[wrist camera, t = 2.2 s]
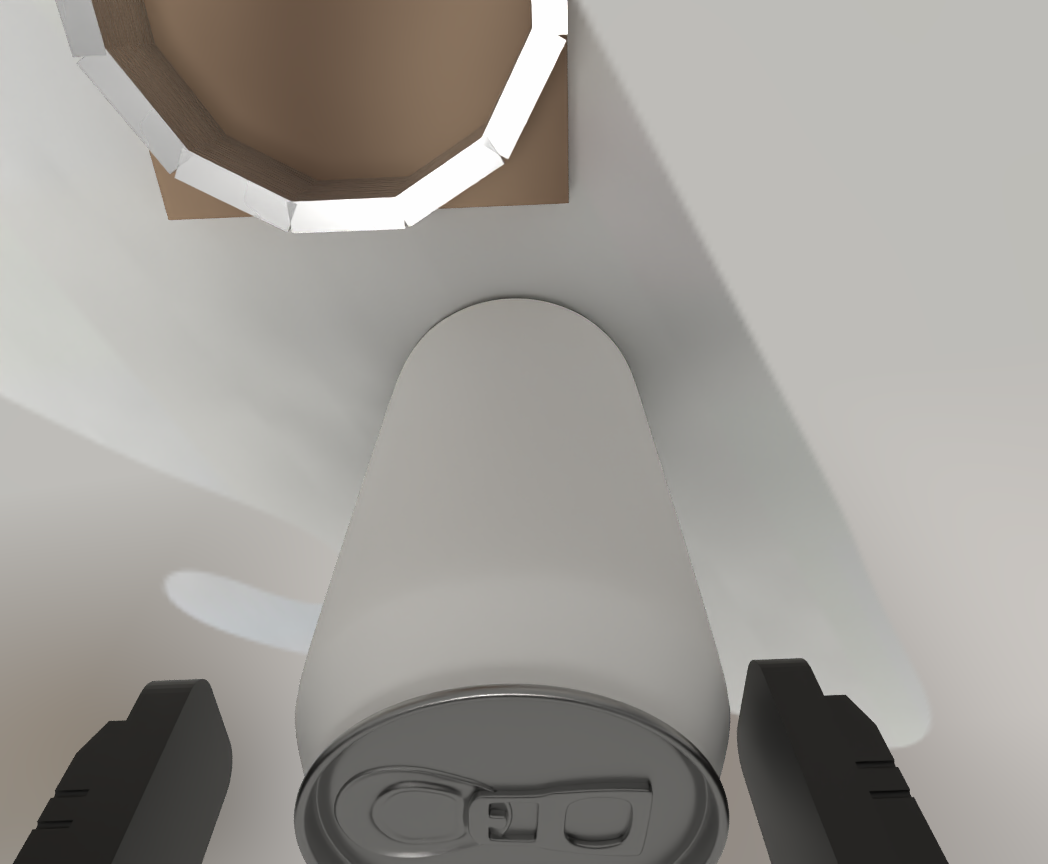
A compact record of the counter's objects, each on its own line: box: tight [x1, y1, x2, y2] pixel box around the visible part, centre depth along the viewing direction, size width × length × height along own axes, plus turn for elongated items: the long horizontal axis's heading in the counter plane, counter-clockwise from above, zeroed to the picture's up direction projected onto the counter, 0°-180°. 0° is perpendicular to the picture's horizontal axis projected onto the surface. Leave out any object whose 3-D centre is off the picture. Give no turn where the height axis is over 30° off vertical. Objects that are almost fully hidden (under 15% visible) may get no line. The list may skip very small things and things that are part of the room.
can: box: [294, 298, 730, 864], centre depth 15 cm, size 6×6×12 cm
